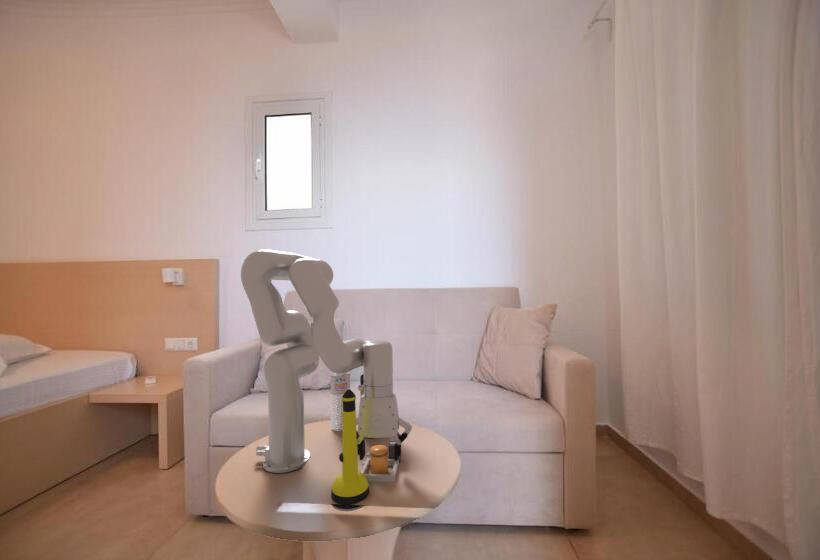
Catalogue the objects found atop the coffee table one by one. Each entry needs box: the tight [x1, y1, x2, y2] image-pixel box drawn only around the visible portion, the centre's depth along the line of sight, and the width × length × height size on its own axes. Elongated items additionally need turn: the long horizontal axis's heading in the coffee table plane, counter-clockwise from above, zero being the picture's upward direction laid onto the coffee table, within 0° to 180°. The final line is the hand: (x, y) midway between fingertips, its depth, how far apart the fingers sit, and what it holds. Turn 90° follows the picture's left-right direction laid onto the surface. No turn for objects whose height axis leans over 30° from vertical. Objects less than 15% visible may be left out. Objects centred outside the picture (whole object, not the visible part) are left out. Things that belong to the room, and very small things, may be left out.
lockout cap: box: [369, 444, 389, 474], centre depth 90 cm, size 4×4×6 cm
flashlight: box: [330, 389, 370, 512], centre depth 82 cm, size 25×9×9 cm
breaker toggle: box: [387, 440, 402, 464], centre depth 96 cm, size 3×3×5 cm
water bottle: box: [329, 370, 351, 432], centre depth 120 cm, size 7×7×25 cm
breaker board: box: [360, 451, 400, 483], centre depth 93 cm, size 14×14×3 cm
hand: (379, 457), depth 90 cm, fingers open, 8 cm apart
